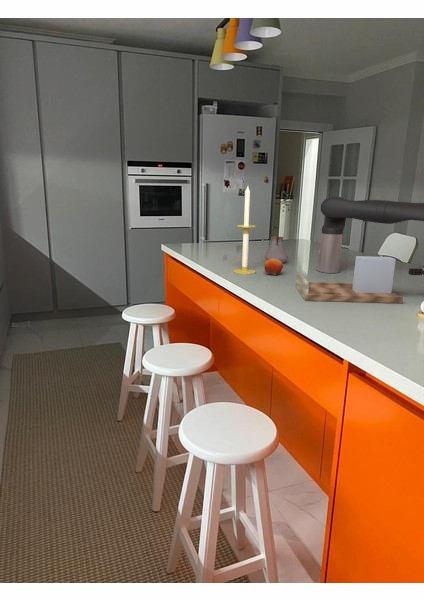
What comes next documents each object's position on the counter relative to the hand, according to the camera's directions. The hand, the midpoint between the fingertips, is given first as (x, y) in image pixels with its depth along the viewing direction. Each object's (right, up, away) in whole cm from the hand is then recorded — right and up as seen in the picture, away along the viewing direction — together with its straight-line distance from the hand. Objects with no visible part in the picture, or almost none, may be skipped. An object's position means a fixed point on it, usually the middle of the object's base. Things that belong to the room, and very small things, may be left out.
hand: (409, 271), depth 147 cm
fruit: (-42, +1, +37) cm, 56 cm away
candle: (-54, +2, +41) cm, 68 cm away
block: (-12, -7, +2) cm, 14 cm away
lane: (-21, -8, +3) cm, 23 cm away
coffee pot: (-37, +8, +61) cm, 72 cm away
